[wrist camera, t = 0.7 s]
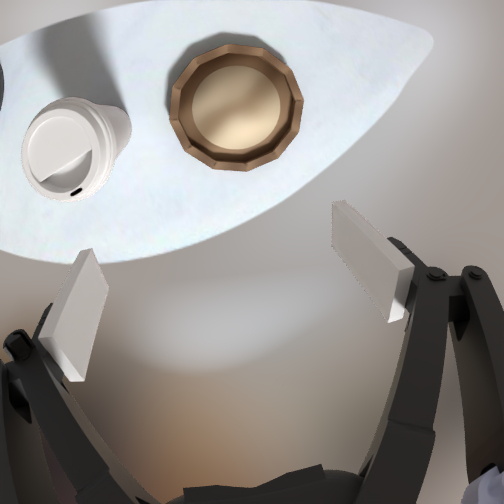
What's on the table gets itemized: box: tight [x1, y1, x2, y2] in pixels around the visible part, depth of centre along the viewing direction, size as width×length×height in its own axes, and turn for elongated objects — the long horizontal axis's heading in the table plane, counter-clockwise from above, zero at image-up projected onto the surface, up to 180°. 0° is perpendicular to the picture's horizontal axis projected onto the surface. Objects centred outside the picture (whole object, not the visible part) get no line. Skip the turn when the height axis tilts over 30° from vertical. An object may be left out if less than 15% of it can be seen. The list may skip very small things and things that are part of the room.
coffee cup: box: [21, 97, 132, 202], centre depth 27 cm, size 10×10×15 cm
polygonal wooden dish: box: [169, 44, 304, 172], centre depth 34 cm, size 16×16×2 cm
